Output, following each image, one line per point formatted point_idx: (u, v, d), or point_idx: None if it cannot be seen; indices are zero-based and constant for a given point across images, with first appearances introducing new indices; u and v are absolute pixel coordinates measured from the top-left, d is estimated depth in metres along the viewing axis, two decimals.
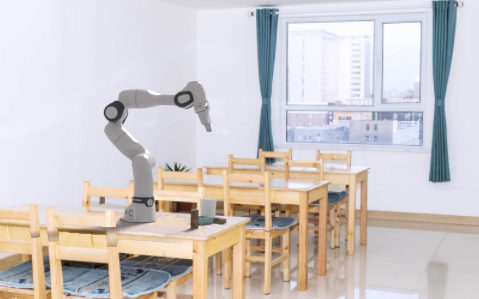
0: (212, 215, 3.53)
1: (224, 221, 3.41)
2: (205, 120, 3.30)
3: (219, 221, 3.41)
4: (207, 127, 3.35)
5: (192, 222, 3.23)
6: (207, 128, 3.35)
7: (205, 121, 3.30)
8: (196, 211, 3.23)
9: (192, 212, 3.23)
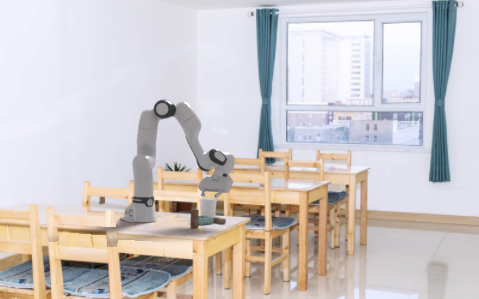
0: (212, 215, 3.53)
1: (223, 221, 3.40)
2: (229, 189, 3.32)
3: (218, 221, 3.41)
4: (219, 194, 3.32)
5: (192, 222, 3.23)
6: (219, 194, 3.32)
7: (228, 190, 3.32)
8: (196, 211, 3.23)
9: (192, 212, 3.23)
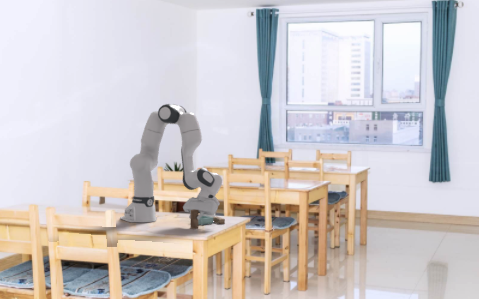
0: (212, 215, 3.53)
1: (222, 221, 3.40)
2: (214, 211, 3.22)
3: (218, 221, 3.41)
4: (201, 215, 3.23)
5: (192, 222, 3.23)
6: (200, 215, 3.23)
7: (214, 212, 3.22)
8: (196, 211, 3.23)
9: (192, 212, 3.23)
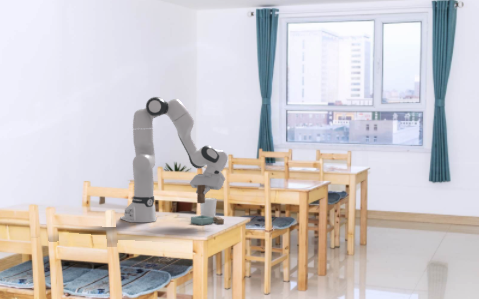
0: (212, 215, 3.53)
1: (221, 221, 3.39)
2: (220, 186, 3.34)
3: (217, 221, 3.41)
4: (207, 190, 3.35)
5: (199, 197, 3.35)
6: (206, 190, 3.35)
7: (219, 187, 3.33)
8: (202, 186, 3.35)
9: (199, 187, 3.35)
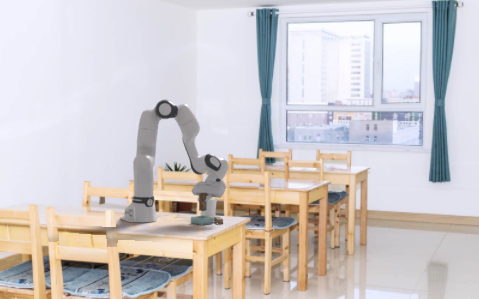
0: (212, 215, 3.53)
1: (220, 221, 3.39)
2: (221, 194, 3.38)
3: (216, 221, 3.41)
4: (209, 198, 3.39)
5: (200, 204, 3.39)
6: (208, 198, 3.39)
7: (221, 195, 3.38)
8: (204, 194, 3.39)
9: (200, 195, 3.39)
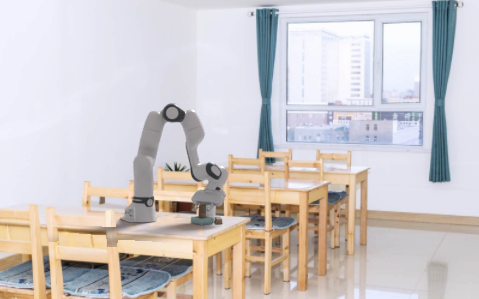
0: (212, 215, 3.53)
1: (219, 221, 3.39)
2: (221, 203, 3.38)
3: (216, 221, 3.42)
4: (211, 207, 3.38)
5: (200, 216, 3.39)
6: (211, 207, 3.38)
7: (220, 203, 3.38)
8: (204, 205, 3.39)
9: (200, 206, 3.39)
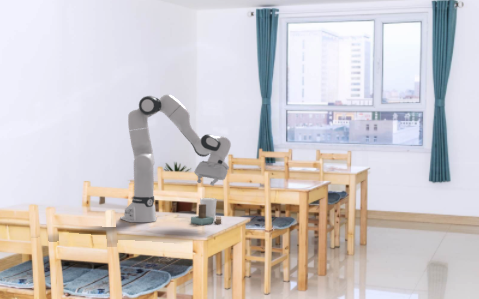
0: (212, 215, 3.53)
1: (218, 221, 3.39)
2: (224, 177, 3.35)
3: None
4: (215, 181, 3.35)
5: (200, 216, 3.39)
6: (214, 181, 3.35)
7: (223, 177, 3.35)
8: (204, 205, 3.39)
9: (200, 206, 3.39)
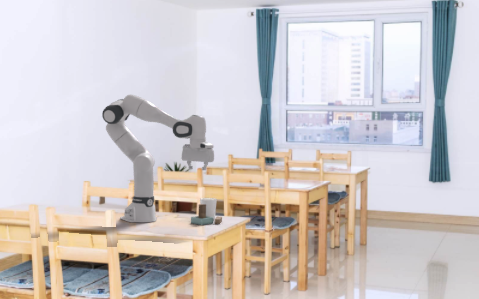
0: (212, 215, 3.53)
1: (217, 221, 3.39)
2: (213, 158, 3.25)
3: None
4: (206, 165, 3.27)
5: (200, 216, 3.39)
6: (205, 166, 3.27)
7: (212, 159, 3.25)
8: (204, 205, 3.39)
9: (200, 206, 3.39)
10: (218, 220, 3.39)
